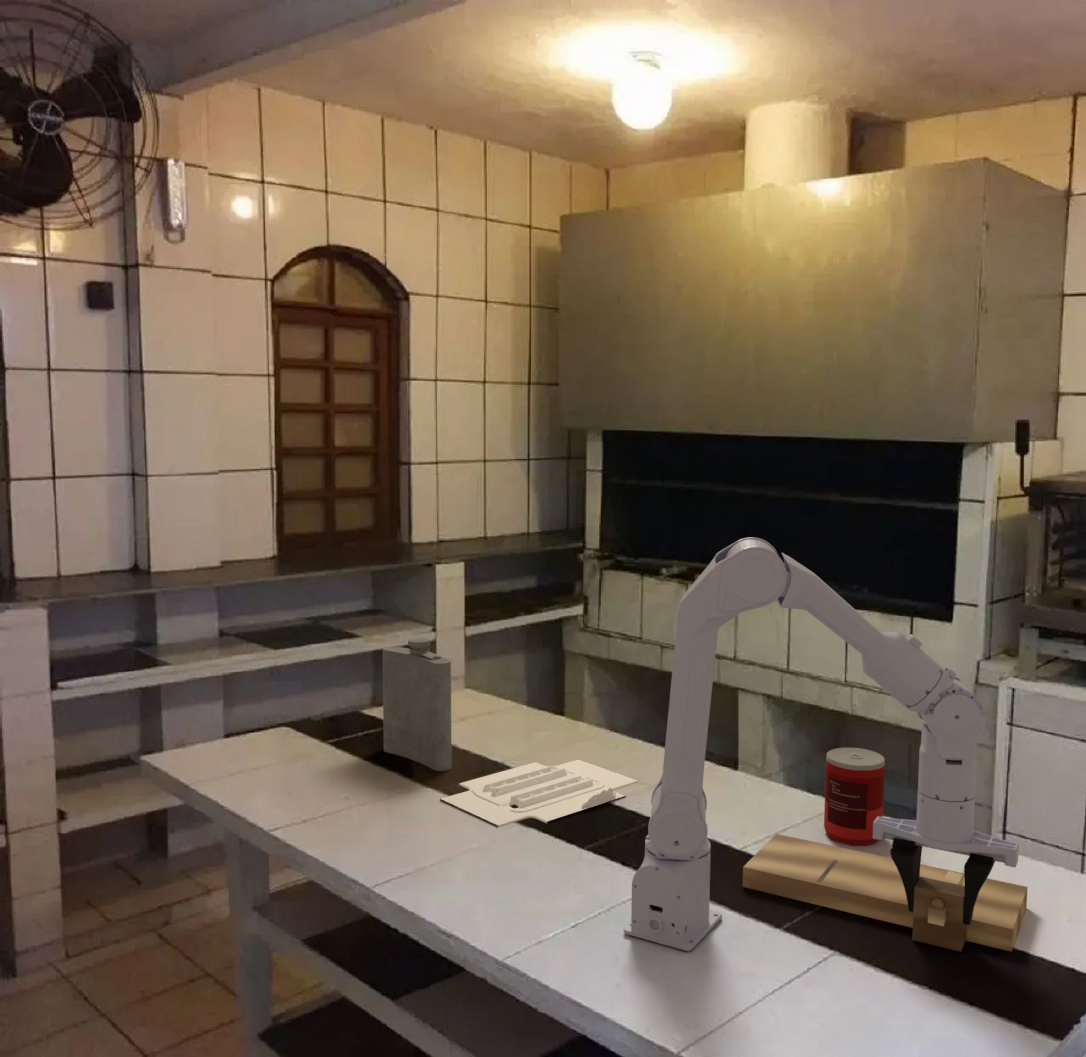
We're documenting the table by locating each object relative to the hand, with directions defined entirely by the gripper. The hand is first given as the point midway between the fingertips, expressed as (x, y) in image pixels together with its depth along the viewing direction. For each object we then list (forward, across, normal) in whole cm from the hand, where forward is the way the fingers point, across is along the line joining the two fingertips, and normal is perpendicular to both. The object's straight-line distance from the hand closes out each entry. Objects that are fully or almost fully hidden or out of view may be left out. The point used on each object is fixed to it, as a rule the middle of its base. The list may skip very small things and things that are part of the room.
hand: (940, 914), depth 115 cm
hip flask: (+3, +86, -20) cm, 88 cm away
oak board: (+3, +8, -8) cm, 12 cm away
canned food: (+3, +16, -25) cm, 30 cm away
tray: (+4, +61, -17) cm, 63 cm away
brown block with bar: (+3, 0, -3) cm, 4 cm away
